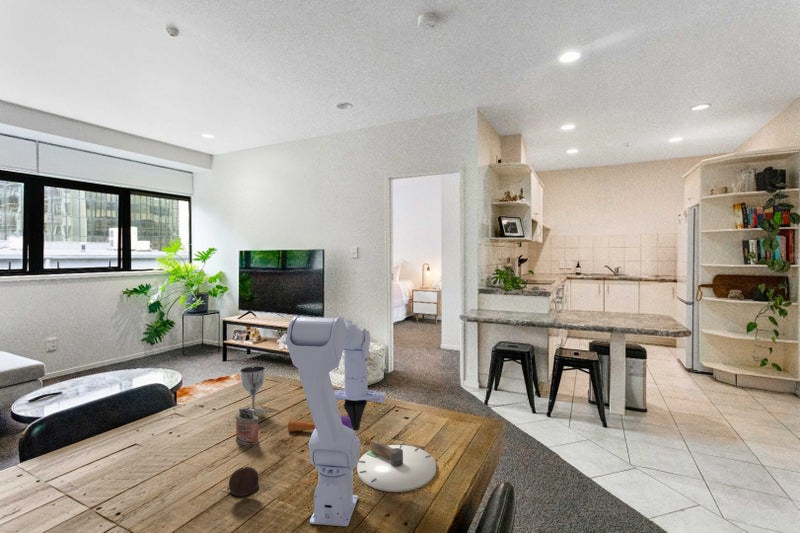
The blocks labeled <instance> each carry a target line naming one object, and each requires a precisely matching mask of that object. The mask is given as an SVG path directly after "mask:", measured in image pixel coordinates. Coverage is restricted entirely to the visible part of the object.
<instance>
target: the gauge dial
mask: <svg viewBox="0 0 800 533" xmlns="http://www.w3.org/2000/svg"><path fill="white" fill-rule="evenodd" d="M387 446H389V447H391V448H393V449H394V448H399V449H402V450H403V464H402V465H401V466H392V465H391V464H390V460H388V459H386V458H384V457H382V456H380V455H378V454H375V453H373V452H371V451H370V450H369V451H367V452H365V453H364V454H363V455H362V456H360V459H359V462H358V464H357V466H356V472H357V475H358V478H359V479H360V480H361V481H362V482H363V483H364V484H365V485H366V486H369V487H371V488H373V489H376V490H379V491H382V492H389V493H392V492H393V493H403V492H409V491H414V490H416V489H419V488H422V487H424V486H426V485H427V484H429V483H430V482H431V481H432V480H433V479H434V477H435V476H436V474H437V473H436V472H437V463H436V460H435V458H434V457H433V456H432V455H431V454H430V453H429V452H427V451H425V450H423V449H421V448H419V447H415V446H411V445H406V444H405V445H404V444H390V445H387Z"/></svg>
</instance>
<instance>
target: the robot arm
mask: <svg viewBox="0 0 800 533" xmlns="http://www.w3.org/2000/svg"><path fill="white" fill-rule="evenodd" d="M287 326H288V327H287V332H286V338H285V344H286V347H287V349H288V353H289V356H290V359H291V362H292V365H293V366H295V367H296V369H297V370H298V376H299V380H300V382H301V387H302V389H303V393H304V395H305V398H306V402H307V405H308V408H309V411H310V414H311V418H312V420H313V423H314V424H315V427H316V428H315V429H313V432H312V433H311V436H310V439H309V440H308V450H309V451H308V453H309V455H308V456H309V461H310V463H311V465H312V466H314V467H315V472H318V481H317V484H316V487H315V489H314V494H313V513H312V515H311V517H310V519H309V524H311V525H324V526H337V527H348V526H349V524H350V522H351V518H352V516H353V513H354V510H355V507H356V505H357V502H358V500H359V496H358V495H357V494H354V488H353V487H354V486H353V485H354V483H353V482H354V480H353V479H354V477H353V476H354V475H353V473H354V471H353V470H354V469H355V468H357V464H358V462H359V459H360V458H361V449H362V447H361V445H362V443H361V440H360V438H359V436H357V434H356V431H359V430H360V428H361V423H362V417H363V413H364V411H365V408H366V407H367V403H368V402H379V403H380V404H385V401H386V392H381V391H375V390H369V389H368V357H369V356H370V355H369V354H370V346H371V345H370V344H371V333H370V331H369V330H367V329H366V328H363V327H358V325H357V324H354V323H353V321H352V320H350V319H344V317H343V318H342V317H340V316H337V317H320V316H319V317H317V316H315V317H313V316H312V317H309V316H300V315H295V316H294V317H293V318H292V319H291V320H290V321H289V323H288V325H287ZM343 353H344V354H343ZM343 355H344V356H343ZM342 356H343V359H344V362H343V363H344V389H337V390H334V387H333V384H332V383H333V382H332V379H331V375H330V372H332V371H334V370H335V369H337V368H339V367H340V362H341V360H342ZM337 401H344V404H343V408H344V409H345V411H346V413H347V415H348V417H349V418H350V420H351V423H352V429H350V428H348V427H347V426H345V425H343V424H342V421H341V417H340V416H341V414H340V410H339V406H338V402H337Z"/></svg>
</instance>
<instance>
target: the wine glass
mask: <svg viewBox="0 0 800 533" xmlns="http://www.w3.org/2000/svg"><path fill="white" fill-rule="evenodd" d="M265 377H266V367H265V366H263V365H250V366H245V367H243V368H241V369H240V381H241V385H242V387H243V389H244V390H246V391H247V393H249V394H250V396H251V397H250V398H251V407H249V408H250V409H254V410H256V415H255V416H258V415H260V414H263V413H264V412H265V409H264V407H263V408H262V407H255V406H256V405H255V401H256V395H257V393H258V392H259V390H260V389H261V387H262V386H263V384H264V382H265Z"/></svg>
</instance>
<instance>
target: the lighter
mask: <svg viewBox="0 0 800 533" xmlns="http://www.w3.org/2000/svg"><path fill="white" fill-rule="evenodd" d="M250 408H251V407H250V406H246V407H244V406H240V407H239V410H238V411H239V413H237V414H236V415H235V419H236V420H235V421H236V422H235V424H236V425H235V426H236V427H235V428H236V430H235V432H236V433H235V434H236V437H235V442H236V443H238V444H240V445H243V446H247V447H255V446H258V445H259V444H260V440H259V419H260V418H259V417H258V415H256V410H254V409H250Z"/></svg>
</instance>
